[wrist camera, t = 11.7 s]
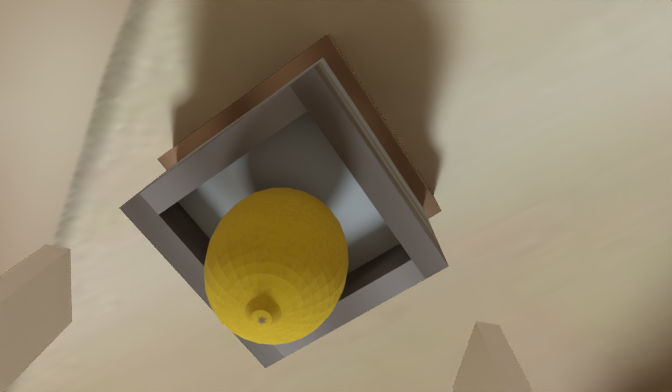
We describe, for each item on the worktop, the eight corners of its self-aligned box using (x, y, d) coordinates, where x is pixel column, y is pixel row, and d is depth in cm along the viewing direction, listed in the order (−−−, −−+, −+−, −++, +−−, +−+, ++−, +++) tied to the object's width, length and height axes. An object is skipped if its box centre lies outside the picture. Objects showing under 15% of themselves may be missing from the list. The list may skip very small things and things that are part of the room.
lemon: (270, 286, 23) (232, 411, 15) (212, 196, 21) (138, 285, 14) (367, 243, 22) (378, 354, 14) (315, 145, 20) (295, 210, 13)
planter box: (328, 34, 26) (319, 36, 17) (433, 196, 29) (472, 270, 20) (173, 148, 28) (93, 203, 19) (286, 284, 31) (262, 385, 23)
